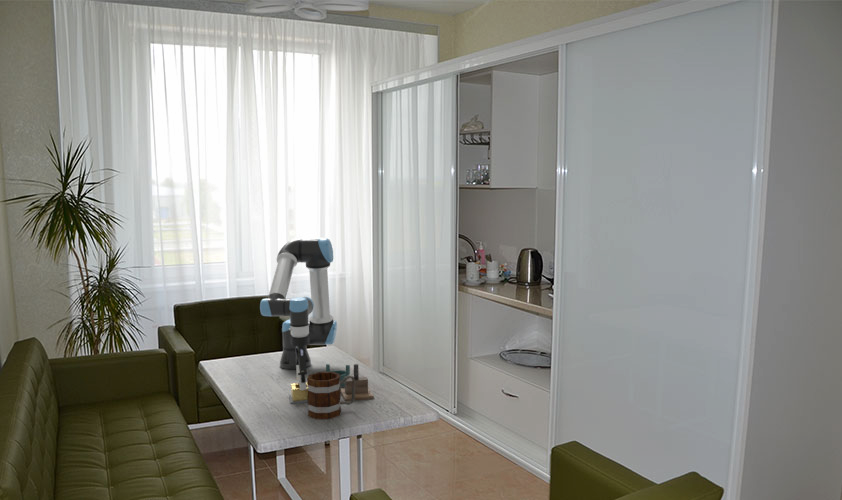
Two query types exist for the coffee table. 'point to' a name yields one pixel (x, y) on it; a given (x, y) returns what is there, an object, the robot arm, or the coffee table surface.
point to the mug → (326, 394)
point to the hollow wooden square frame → (298, 392)
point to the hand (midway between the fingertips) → (301, 384)
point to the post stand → (357, 387)
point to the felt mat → (296, 401)
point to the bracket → (340, 372)
